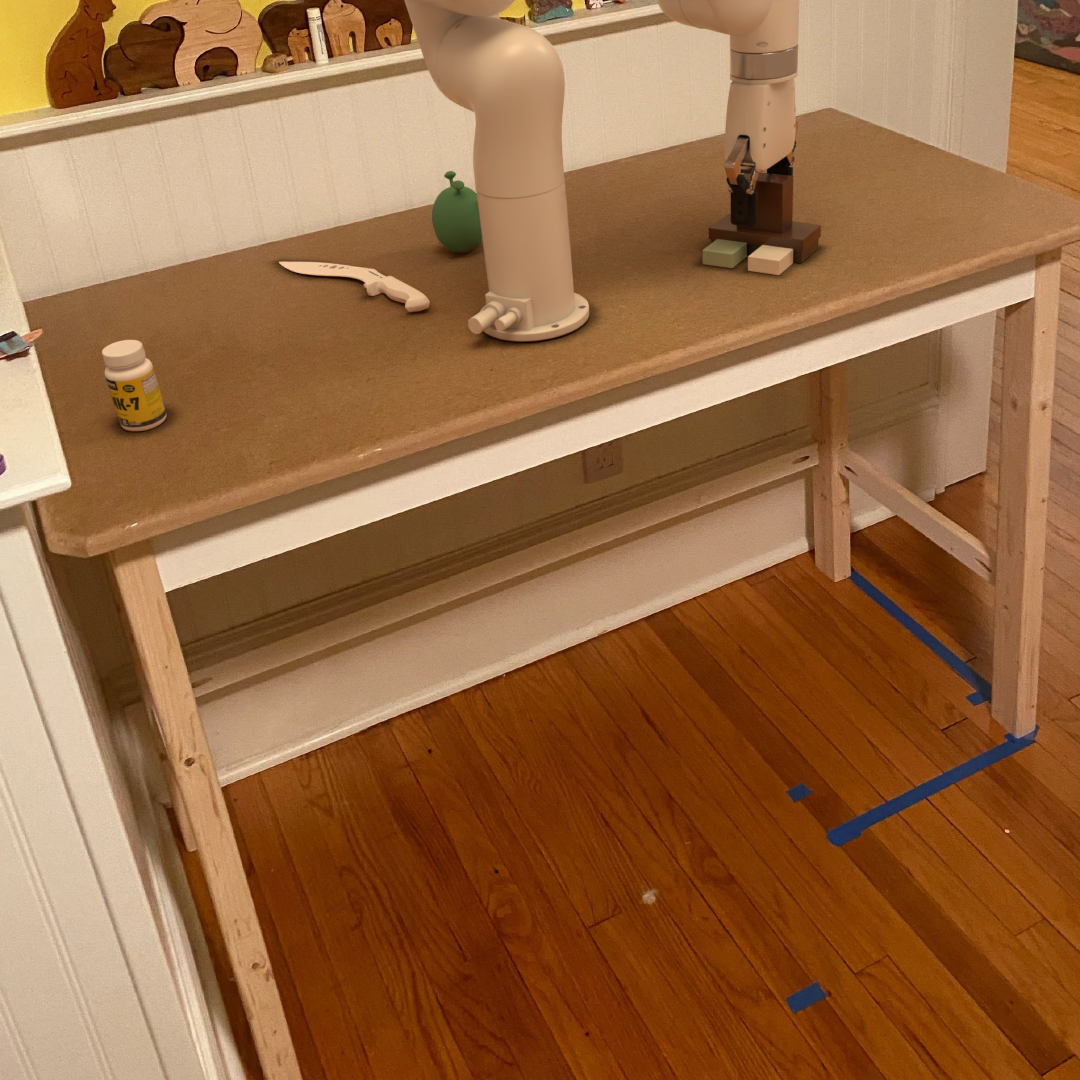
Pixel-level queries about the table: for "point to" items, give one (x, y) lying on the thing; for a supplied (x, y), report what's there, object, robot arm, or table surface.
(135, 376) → the supplement bottle
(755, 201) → the robot arm
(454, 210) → the alien toy
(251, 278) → the table surface
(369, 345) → the table surface
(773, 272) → the chip
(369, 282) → the knife
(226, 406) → the table surface
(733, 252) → the chip
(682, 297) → the table surface
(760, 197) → the brown inverted t block
